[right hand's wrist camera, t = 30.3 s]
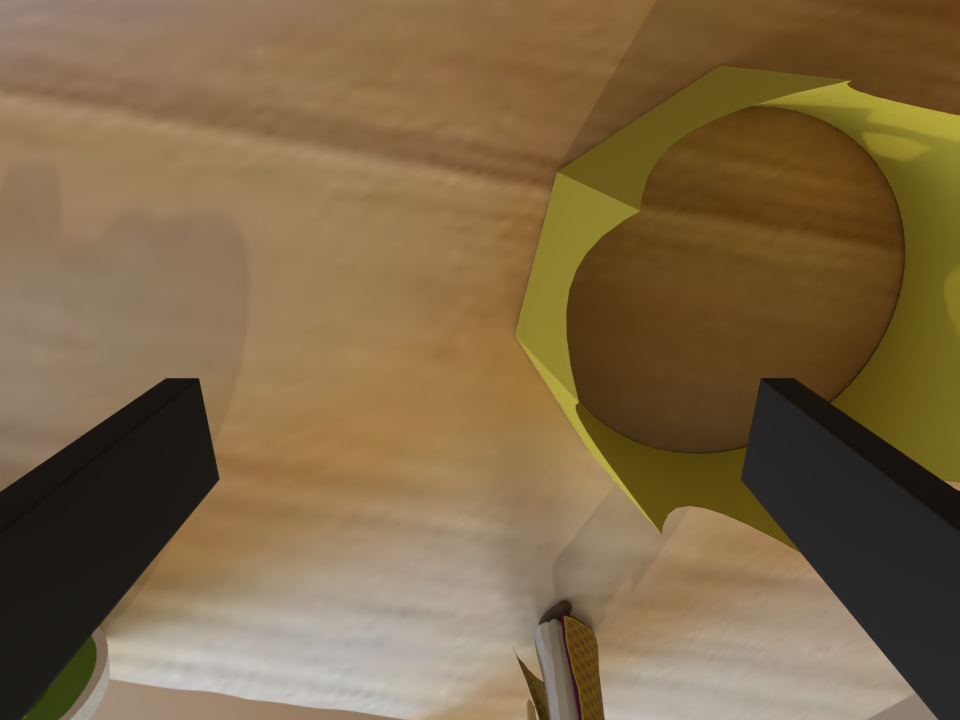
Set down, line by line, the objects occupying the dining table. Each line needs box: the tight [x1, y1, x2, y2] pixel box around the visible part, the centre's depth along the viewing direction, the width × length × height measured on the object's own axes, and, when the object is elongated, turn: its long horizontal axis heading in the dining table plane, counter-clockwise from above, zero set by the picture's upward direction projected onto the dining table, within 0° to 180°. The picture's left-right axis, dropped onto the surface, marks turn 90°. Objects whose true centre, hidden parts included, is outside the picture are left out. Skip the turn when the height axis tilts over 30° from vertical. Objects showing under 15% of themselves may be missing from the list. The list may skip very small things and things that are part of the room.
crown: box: [515, 65, 960, 553], centre depth 38 cm, size 36×36×15 cm
